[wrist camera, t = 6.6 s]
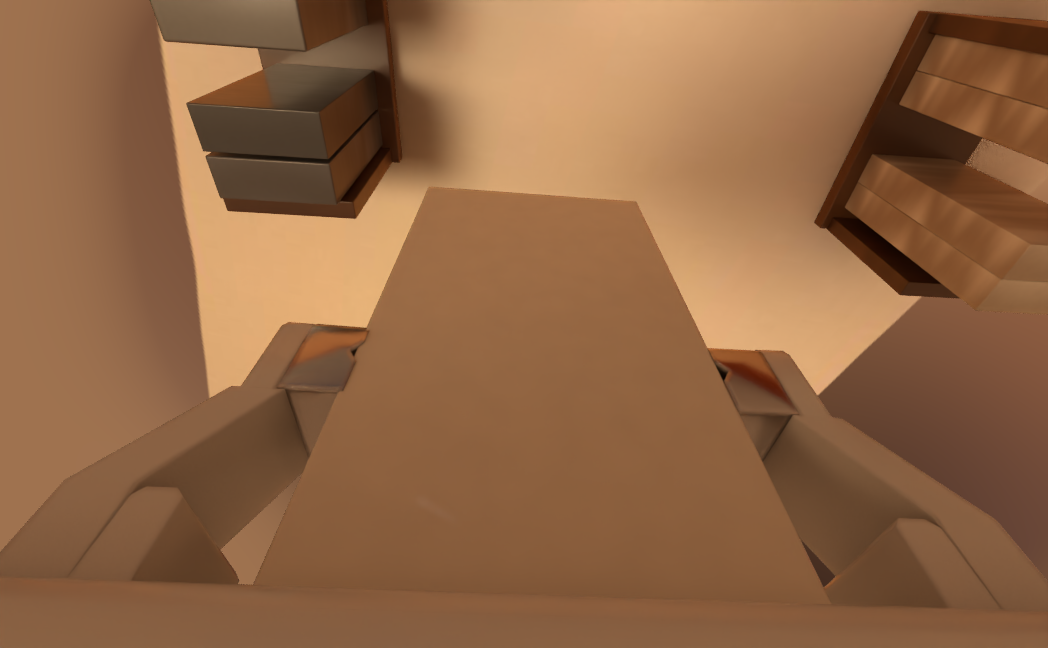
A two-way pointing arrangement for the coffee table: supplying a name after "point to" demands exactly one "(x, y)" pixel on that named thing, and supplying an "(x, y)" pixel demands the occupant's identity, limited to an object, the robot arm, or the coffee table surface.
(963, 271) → the wooden rack
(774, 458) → the robot arm
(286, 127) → the dark boxy rack
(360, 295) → the coffee table surface
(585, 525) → the light brown box
